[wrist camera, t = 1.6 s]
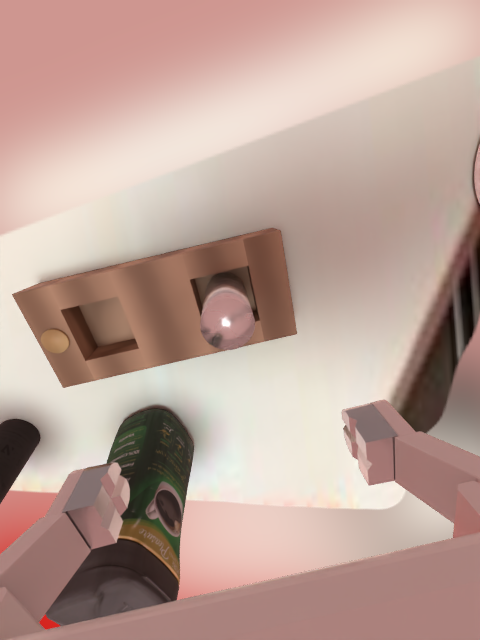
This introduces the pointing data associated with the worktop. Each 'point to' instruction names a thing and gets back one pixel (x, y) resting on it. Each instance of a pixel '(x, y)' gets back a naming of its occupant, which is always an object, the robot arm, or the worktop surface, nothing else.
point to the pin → (226, 313)
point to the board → (154, 307)
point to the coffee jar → (137, 526)
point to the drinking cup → (15, 450)
